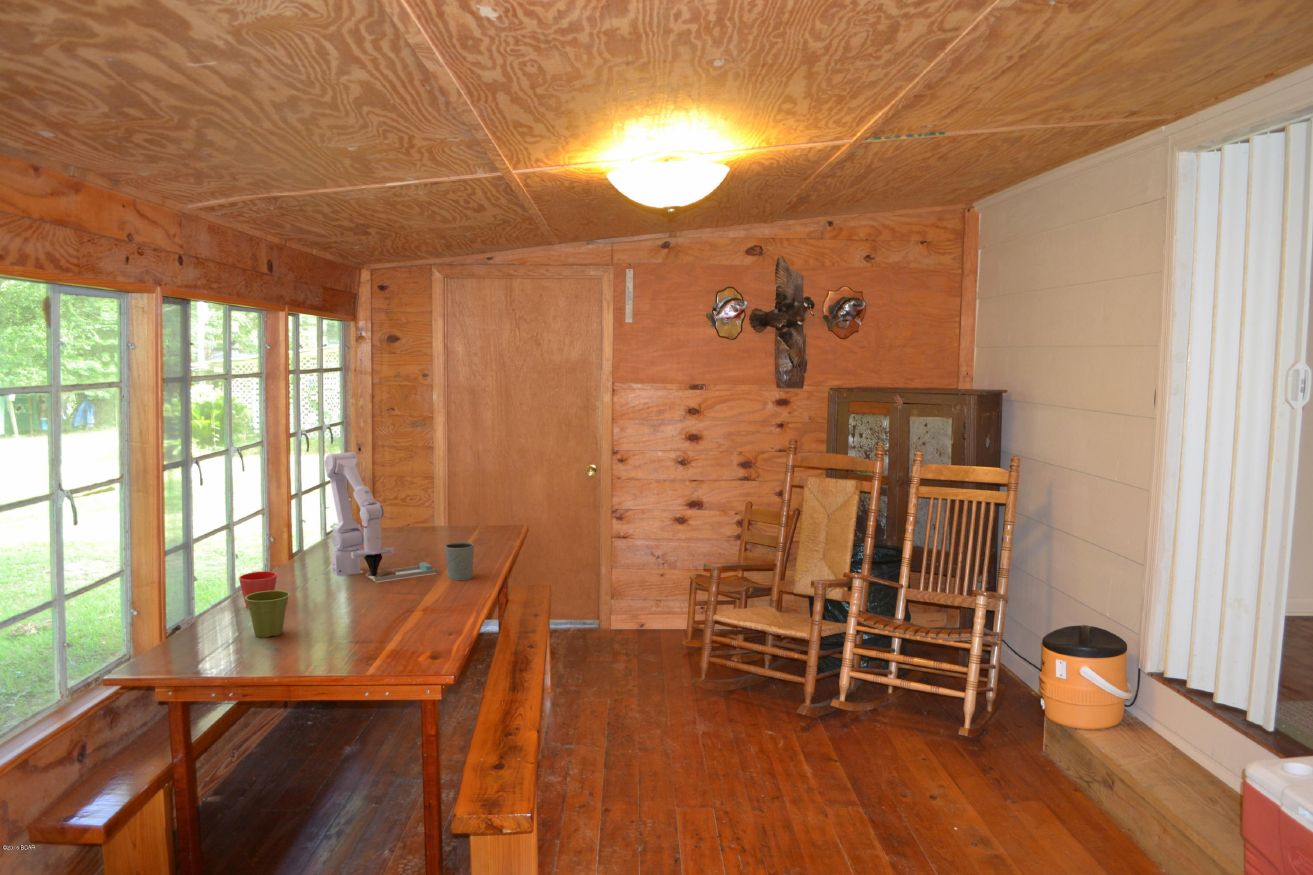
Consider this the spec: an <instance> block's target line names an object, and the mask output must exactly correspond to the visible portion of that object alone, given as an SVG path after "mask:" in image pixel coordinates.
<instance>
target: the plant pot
mask: <svg viewBox="0 0 1313 875" xmlns="http://www.w3.org/2000/svg"><path fill="white" fill-rule="evenodd" d="M290 596H291V592H288V591H287V590H279V589H277V590H276V589H275V590H273V591H262V592H256V593H252V594H249V595H247V596H246V597H245V600H247V603H248V607H249V608H248V610H249V612H250V617H251V623H252V628H253V631H254V632H253V633H254V635H255V637H258V638H271V637H272V636H274V637H277V636H279V635H281V634H283V631H284V625H285V617H286V610H287V604H288V603H289V602H288V601H289V597H290ZM245 600H244V601H245Z"/></svg>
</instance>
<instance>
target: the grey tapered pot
mask: <svg viewBox="0 0 1313 875" xmlns="http://www.w3.org/2000/svg"><path fill="white" fill-rule="evenodd" d="M474 547H475V545H474V543H472V542H461V541H460V542H452V543H447V544H445V546H444V550H445V551H444V552H445V558H446V566H447V577H448V579H450V580H455V581H458V582H463V581H462V580H465V581H469V580H472V579H473V577H474V552H475V551H474V550H475V549H474ZM471 578H472V579H471Z"/></svg>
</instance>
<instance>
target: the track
mask: <svg viewBox="0 0 1313 875" xmlns="http://www.w3.org/2000/svg"><path fill="white" fill-rule="evenodd" d="M391 569H392V570H394V571H396V575H390V576H383V577H377V578H376V577H374V576H371V574H370V571H368V572H366V575H365V576H366V577H367V578H369V579H370V580H372V581H374V582H375V583H381V582H388V581H390V582H391V581H397V580H402V579H403V580H404V579H409V578H416V577H423V576H430V575H437V569H436V568H433V567H432V564H429V563H428V562H425V561H423V562H419V564H418V565H412V566H411V565H410V566H405V567H397V568H391Z"/></svg>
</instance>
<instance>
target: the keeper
mask: <svg viewBox="0 0 1313 875" xmlns="http://www.w3.org/2000/svg"><path fill="white" fill-rule="evenodd" d="M392 569H393V568H386V569H379V570H377V575H376V576H374V577H376V578H377V577H383V576H390V575H396V571H394V570H392Z"/></svg>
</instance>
